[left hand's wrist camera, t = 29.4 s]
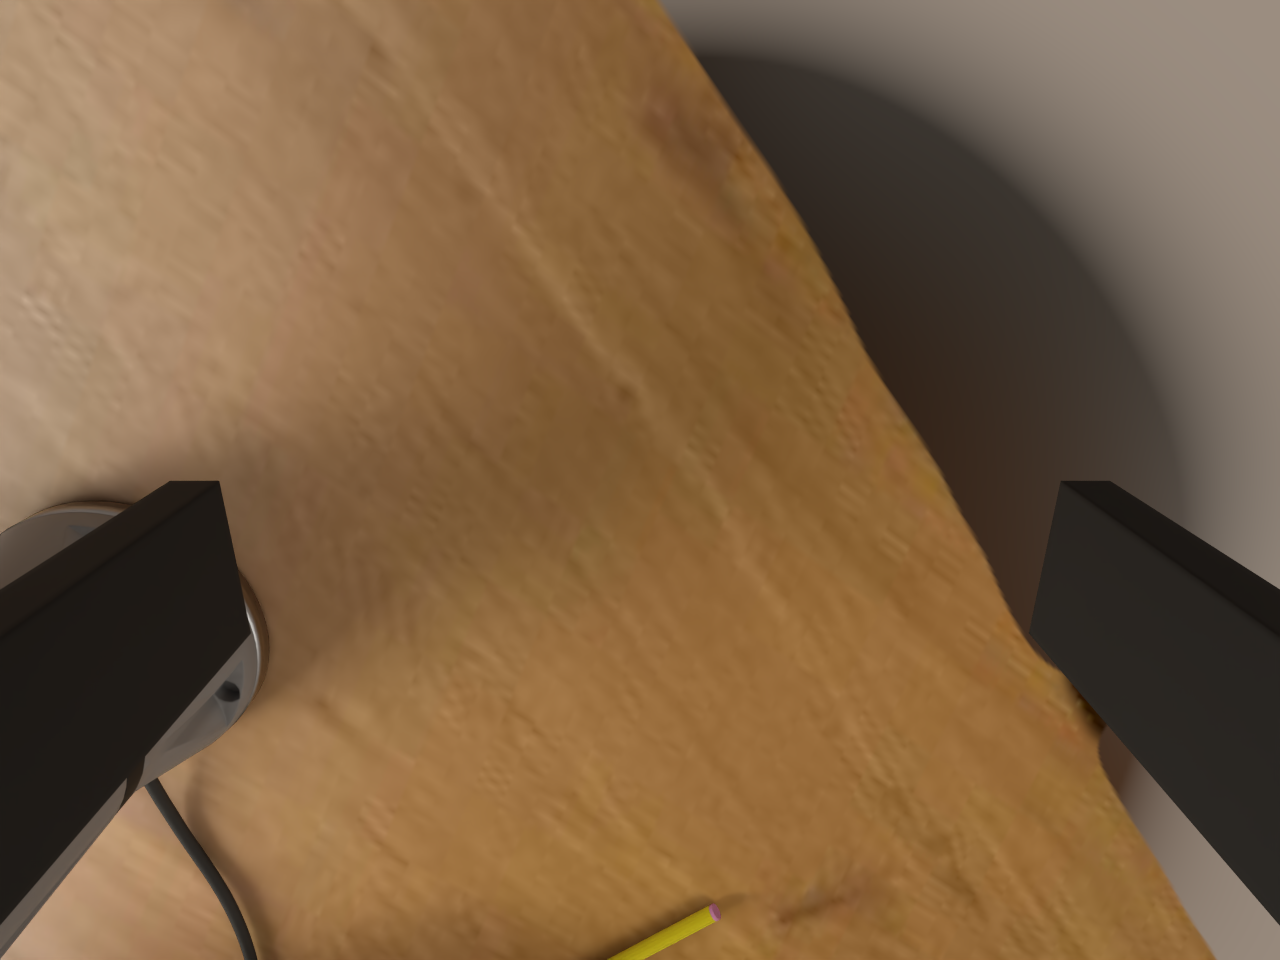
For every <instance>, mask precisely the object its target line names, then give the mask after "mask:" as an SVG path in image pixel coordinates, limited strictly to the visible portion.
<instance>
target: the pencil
mask: <svg viewBox="0 0 1280 960" xmlns="http://www.w3.org/2000/svg"><path fill="white" fill-rule="evenodd" d="M720 918H721V915H720V911H719V909H718V907H717V906H716V905H715V904H714V903H713V904H711V905H709V906H707V907H705V908H703V909H701V910H699V911H697V912H696V913H694V914H692V915H690V916H688V917H686V918H684V919H682V920H680V921H679V922H677V923H675V924H673V925H671V926H669V927H667V928H665V929H663V930H662V931H660V932H658V933H656V934H654V935H652V936H650V937H648V938H647V939H645V940H643V941H641V942H639V943H637V944H635V945H633V946H631V947H630V948H628V949H626V950H624V951H622V952H620V953H618V954H616V955H614V956H613V957H611V958H609V959H607V960H643V959H645V958H647V957H649V956H651V955H653V954H655V953H657V952H659V951H660V950H662V949H664V948H666V947H668V946H670V945H672V944H674V943H676V942H678V941H680V940H681V939H683V938H685V937H687V936H689V935H691V934H693V933H695V932H697V931H699V930H701V929H702V928H704V927H706V926H708V925H710V924H712V923H714V922H716V921H718V920H720Z"/></svg>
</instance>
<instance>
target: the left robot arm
mask: <svg viewBox="0 0 1280 960" xmlns="http://www.w3.org/2000/svg"><path fill="white" fill-rule="evenodd" d="M1029 634H1030V635H1031V636H1032V637H1033V639H1034V640H1035V641H1036V642H1037V643H1038V644H1039V646H1040V647H1041V648H1042V649H1043V650H1044V651H1045V653H1046V654H1047V655H1048V656H1049V657H1050V658H1051V660H1052V661H1053V662H1054V663H1055V664H1056V665H1057V667H1058V668H1059V669H1060V670H1061V671H1062V672H1063V674H1064V675H1065V676H1066V677H1067V678H1068V679H1069V681H1070V682H1071V683H1072V684H1073V685H1074V686H1075V688H1076V689H1077V690H1078V691H1079V692H1080V693H1081V695H1082V696H1083V697H1084V698H1085V699H1086V700H1087V702H1088V703H1089V704H1090V705H1091V706H1092V707H1093V709H1094V710H1095V711H1096V712H1097V713H1098V714H1099V715H1100V717H1101V718H1102V719H1103V720H1104V721H1105V722H1106V724H1107V725H1108V726H1109V727H1110V728H1111V729H1112V731H1113V732H1114V733H1115V734H1116V735H1117V736H1118V738H1119V739H1120V740H1121V741H1122V742H1123V743H1124V745H1125V746H1126V747H1127V748H1128V749H1129V750H1130V752H1131V753H1132V754H1133V755H1134V756H1135V757H1136V759H1137V760H1138V761H1139V762H1140V763H1141V764H1142V765H1143V767H1144V768H1145V769H1146V770H1147V771H1148V773H1149V774H1150V775H1151V776H1152V777H1153V778H1154V780H1155V781H1156V782H1157V783H1158V784H1159V785H1160V786H1161V788H1162V789H1163V790H1164V791H1165V792H1166V794H1167V795H1168V796H1169V797H1170V798H1171V799H1172V800H1173V802H1174V803H1175V804H1176V805H1177V806H1178V807H1179V809H1180V810H1181V811H1182V812H1183V813H1184V814H1185V816H1186V817H1187V818H1188V819H1189V820H1190V821H1191V823H1192V824H1193V825H1194V826H1195V827H1196V828H1197V830H1198V831H1199V832H1200V833H1201V834H1202V835H1203V837H1204V838H1205V839H1206V840H1207V841H1208V842H1209V844H1210V845H1211V846H1212V847H1213V848H1214V849H1215V851H1216V852H1217V853H1218V854H1219V855H1220V856H1221V858H1222V859H1223V860H1224V861H1225V862H1226V863H1227V865H1228V866H1229V867H1230V868H1231V869H1232V870H1233V872H1234V873H1235V874H1236V875H1237V876H1238V877H1239V879H1240V880H1241V881H1242V882H1243V883H1244V884H1245V885H1246V887H1247V888H1248V889H1249V890H1250V891H1251V892H1252V894H1253V895H1254V896H1255V897H1256V898H1257V899H1258V901H1259V902H1260V903H1261V904H1262V905H1263V906H1264V908H1265V909H1266V910H1267V911H1268V912H1269V913H1270V915H1271V916H1272V917H1273V918H1274V919H1275V920H1276V922H1277V923H1278V924H1279V925H1280V589H1278V588H1277V587H1275V586H1273V585H1272V584H1270V583H1269V582H1267V581H1266V580H1264V579H1263V578H1261V577H1259V576H1258V575H1256V574H1255V573H1253V572H1252V571H1250V570H1248V569H1247V568H1245V567H1244V566H1242V565H1241V564H1239V563H1237V562H1236V561H1234V560H1233V559H1231V558H1230V557H1228V556H1227V555H1225V554H1223V553H1222V552H1220V551H1219V550H1217V549H1216V548H1214V547H1212V546H1211V545H1209V544H1208V543H1206V542H1205V541H1203V540H1202V539H1200V538H1198V537H1197V536H1195V535H1194V534H1192V533H1191V532H1189V531H1187V530H1186V529H1184V528H1183V527H1181V526H1180V525H1178V524H1177V523H1175V522H1173V521H1172V520H1170V519H1169V518H1167V517H1166V516H1164V515H1162V514H1161V513H1159V512H1158V511H1156V510H1155V509H1153V508H1151V507H1150V506H1148V505H1147V504H1145V503H1144V502H1142V501H1141V500H1139V499H1137V498H1136V497H1134V496H1133V495H1131V494H1130V493H1128V492H1126V491H1125V490H1123V489H1122V488H1120V487H1119V486H1117V485H1116V484H1114V483H1112V482H1111V481H1061V483H1060V487H1059V492H1058V497H1057V502H1056V506H1055V511H1054V516H1053V521H1052V526H1051V530H1050V535H1049V540H1048V545H1047V549H1046V554H1045V559H1044V564H1043V568H1042V573H1041V578H1040V583H1039V588H1038V592H1037V597H1036V602H1035V607H1034V611H1033V616H1032V621H1031V626H1030V630H1029ZM268 661H269V636H268V631H267V625H266V622H265V618H264V615H263V612H262V610H261V607H260V605H259V602H258V600H257V598H256V596H255V594H254V593H253V591H252V589H251V587H250V586H249V584H248V583H247V581H246V580H245V578H244V577H243V576H242V574H241V573H240V572H239V571H238V568H237V564H236V559H235V554H234V549H233V545H232V540H231V535H230V530H229V525H228V521H227V516H226V511H225V506H224V502H223V497H222V492H221V487H220V483H219V481H169V482H168V483H166V484H164V485H163V486H161V487H160V488H158V489H157V490H155V491H154V492H152V493H150V494H149V495H147V496H146V497H144V498H143V499H141V500H139V501H138V502H136V503H135V504H133V505H128V504H122V503H116V502H106V501H82V502H72V503H67V504H61V505H57V506H54V507H50V508H47V509H45V510H42V511H40V512H37V513H35V514H34V515H32V516H30V517H28V518H26V519H24V520H23V521H21V522H19V523H17V524H15V525H14V526H12V527H10V528H8V529H6V530H5V531H4V532H2V533H1V534H0V959H1V957H2V956H3V955H4V954H5V952H6V951H7V950H8V949H9V947H10V946H11V945H12V944H13V942H14V941H15V940H16V939H17V937H18V936H19V935H20V934H21V932H22V931H23V930H24V929H25V927H26V926H27V925H28V924H29V922H30V921H31V920H32V919H33V917H34V916H35V915H36V914H37V912H38V911H39V910H40V909H41V907H42V906H43V905H44V904H45V902H46V901H47V900H48V899H49V897H50V896H51V895H52V894H53V892H54V891H55V890H56V889H57V888H58V886H59V885H60V884H61V883H62V881H63V880H64V879H65V878H66V876H67V875H68V874H69V873H70V871H71V870H72V869H73V868H74V866H75V865H76V864H77V863H78V861H79V860H80V859H81V858H82V856H83V855H84V854H85V853H86V851H87V850H88V849H89V848H90V846H91V845H92V844H93V843H94V841H95V840H96V839H97V838H98V836H99V835H100V834H101V833H102V831H103V830H104V829H105V828H106V826H107V825H108V824H109V823H110V821H111V820H112V819H113V817H114V816H115V815H116V813H117V812H118V811H119V810H120V809H121V807H122V806H123V805H124V804H125V803H126V801H127V800H128V799H129V798H130V797H131V796H132V794H133V793H134V792H135V791H137V790H138V789H140V788H141V787H143V786H145V788H146V789H147V791H148V793H149V794H150V796H151V798H152V799H153V801H154V802H155V804H156V806H157V807H158V809H159V810H160V812H161V813H162V815H163V816H164V818H165V819H166V821H167V823H168V824H169V826H170V827H171V829H172V830H173V832H174V833H175V835H176V836H177V838H178V839H179V841H180V842H181V844H182V845H183V847H184V848H185V849H186V851H187V852H188V854H189V855H190V857H191V858H192V859H193V861H194V862H195V864H196V865H197V866H198V868H199V869H200V871H201V872H202V874H203V875H204V877H205V878H206V880H207V881H208V883H209V884H210V886H211V887H212V889H213V891H214V892H215V894H216V896H217V897H218V899H219V901H220V902H221V904H222V906H223V908H224V910H225V912H226V914H227V916H228V918H229V920H230V922H231V924H232V927H233V929H234V931H235V934H236V936H237V939H238V941H239V944H240V947H241V950H242V953H243V956H244V960H257V956H256V952H255V949H254V946H253V942H252V939H251V936H250V934H249V931H248V928H247V926H246V923H245V921H244V919H243V916H242V914H241V912H240V910H239V907H238V905H237V903H236V901H235V899H234V898H233V896H232V894H231V892H230V890H229V889H228V887H227V885H226V883H225V882H224V880H223V879H222V877H221V875H220V874H219V872H218V871H217V869H216V868H215V866H214V865H213V863H212V862H211V860H210V859H209V857H208V856H207V855H206V853H205V852H204V850H203V849H202V847H201V846H200V844H199V843H198V842H197V840H196V839H195V837H194V836H193V834H192V833H191V831H190V830H189V828H188V827H187V825H186V824H185V822H184V821H183V819H182V817H181V816H180V814H179V813H178V811H177V809H176V808H175V806H174V805H173V803H172V801H171V800H170V798H169V796H168V795H167V793H166V791H165V790H164V788H163V786H162V785H161V783H160V781H159V779H158V778H157V777H159V776H161V775H162V774H164V773H165V772H167V771H169V770H170V769H172V768H173V767H175V766H177V765H178V764H180V763H181V762H183V761H185V760H186V759H188V758H189V757H191V756H193V755H194V754H196V753H198V752H199V751H201V750H202V749H204V748H206V747H207V746H209V745H210V744H212V743H213V742H214V741H216V740H217V739H218V738H219V737H220V736H221V735H223V734H224V733H225V732H226V731H227V730H228V729H229V728H230V727H231V726H232V725H233V724H234V723H235V722H236V721H237V720H238V719H239V718H240V716H241V715H242V714H243V713H244V711H245V710H246V709H247V707H248V706H249V705H250V703H251V702H252V701H253V699H254V698H255V696H256V694H257V693H258V691H259V689H260V687H261V685H262V683H263V681H264V678H265V674H266V671H267V666H268Z"/></svg>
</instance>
